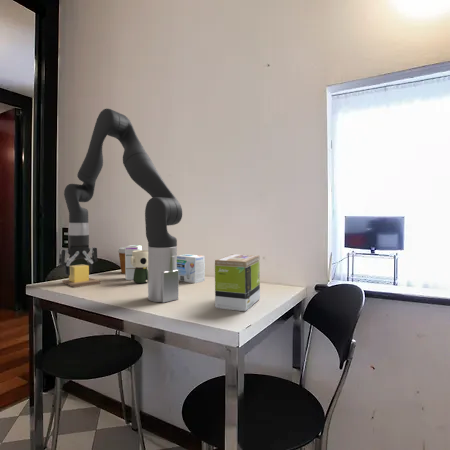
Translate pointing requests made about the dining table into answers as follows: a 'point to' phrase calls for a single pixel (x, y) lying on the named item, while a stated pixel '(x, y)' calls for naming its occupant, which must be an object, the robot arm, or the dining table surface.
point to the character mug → (140, 265)
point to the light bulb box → (191, 268)
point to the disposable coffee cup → (122, 259)
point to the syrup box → (128, 267)
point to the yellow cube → (79, 273)
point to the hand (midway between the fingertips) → (78, 274)
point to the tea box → (237, 281)
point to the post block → (83, 283)
